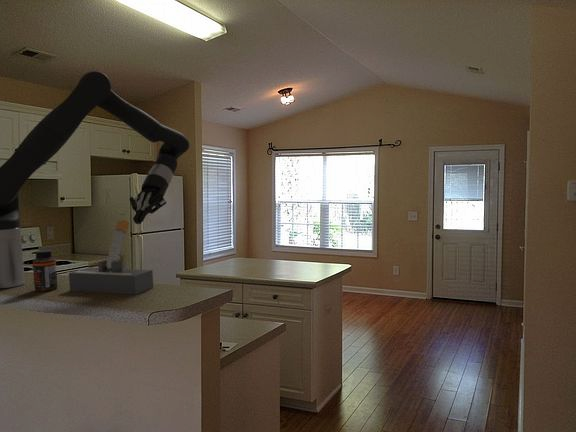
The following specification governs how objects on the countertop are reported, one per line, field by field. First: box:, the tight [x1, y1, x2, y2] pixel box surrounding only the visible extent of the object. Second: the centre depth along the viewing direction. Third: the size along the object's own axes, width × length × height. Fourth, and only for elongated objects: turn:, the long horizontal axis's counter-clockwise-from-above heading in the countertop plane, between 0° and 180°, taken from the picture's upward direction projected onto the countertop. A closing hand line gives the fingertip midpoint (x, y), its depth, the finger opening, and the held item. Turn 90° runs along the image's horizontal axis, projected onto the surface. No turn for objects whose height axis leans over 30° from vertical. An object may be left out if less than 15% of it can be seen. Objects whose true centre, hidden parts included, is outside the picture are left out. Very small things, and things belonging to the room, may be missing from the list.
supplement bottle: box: [32, 249, 58, 293], centre depth 138 cm, size 6×6×11 cm
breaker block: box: [68, 259, 154, 295], centre depth 137 cm, size 22×8×8 cm, turn 71°
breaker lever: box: [105, 220, 130, 271], centre depth 139 cm, size 3×2×15 cm, turn 71°
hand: (136, 222), depth 148 cm, fingers closed
